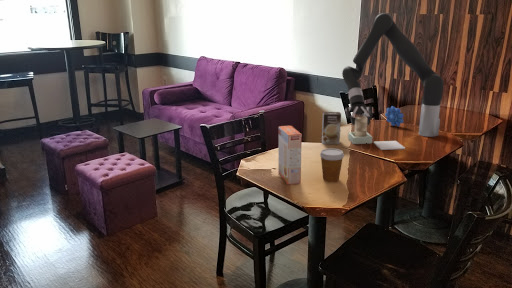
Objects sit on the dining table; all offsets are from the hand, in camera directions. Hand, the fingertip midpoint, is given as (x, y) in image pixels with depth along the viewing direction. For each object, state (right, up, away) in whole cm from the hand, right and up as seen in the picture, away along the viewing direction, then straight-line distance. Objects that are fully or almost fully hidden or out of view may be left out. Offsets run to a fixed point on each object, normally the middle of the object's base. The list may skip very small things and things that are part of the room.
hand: (361, 124), depth 206 cm
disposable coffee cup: (-25, -25, -46) cm, 58 cm away
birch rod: (0, -9, +4) cm, 10 cm away
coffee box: (-16, -10, +2) cm, 19 cm away
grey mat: (+13, -11, -5) cm, 18 cm away
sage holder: (0, -9, +4) cm, 10 cm away
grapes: (+27, 0, +30) cm, 41 cm away
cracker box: (-41, -25, -43) cm, 65 cm away
